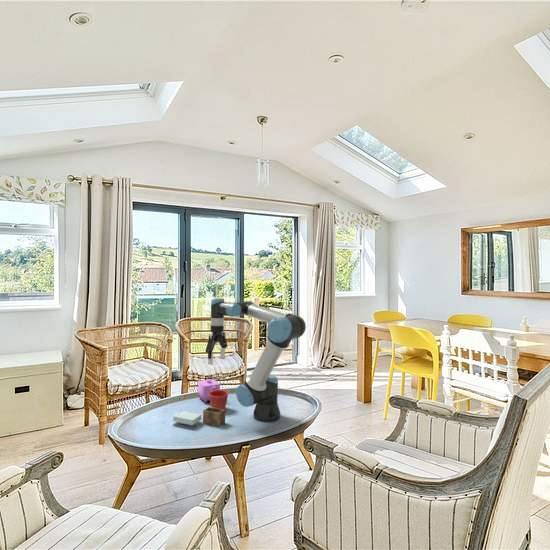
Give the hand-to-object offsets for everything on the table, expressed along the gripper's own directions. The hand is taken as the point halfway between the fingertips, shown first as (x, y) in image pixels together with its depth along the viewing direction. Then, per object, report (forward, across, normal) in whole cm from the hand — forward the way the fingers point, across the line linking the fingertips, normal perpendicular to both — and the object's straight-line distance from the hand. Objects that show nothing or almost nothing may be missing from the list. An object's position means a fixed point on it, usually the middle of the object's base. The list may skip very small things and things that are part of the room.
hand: (216, 361), depth 214 cm
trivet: (+29, +22, -4) cm, 36 cm away
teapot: (+29, -14, -13) cm, 35 cm away
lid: (+27, +22, -4) cm, 35 cm away
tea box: (+29, +15, +8) cm, 33 cm away
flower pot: (+29, -3, 0) cm, 29 cm away
